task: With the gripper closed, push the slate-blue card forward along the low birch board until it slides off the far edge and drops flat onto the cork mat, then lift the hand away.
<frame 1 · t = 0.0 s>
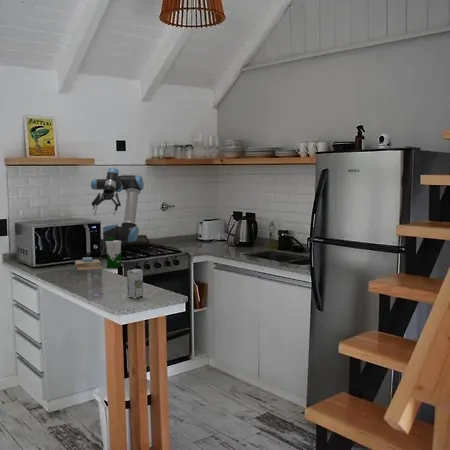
hand: (104, 214, 366), 36 cm above the worktop, tool tilted 35°, fingers open, 13 cm apart
milk carton: (114, 267, 368), on the worktop
mat: (89, 268, 364), on the worktop
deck: (87, 265, 375), on the worktop
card: (87, 261, 375), point 3 cm above the worktop, touching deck
syrup box: (135, 297, 284), on the worktop
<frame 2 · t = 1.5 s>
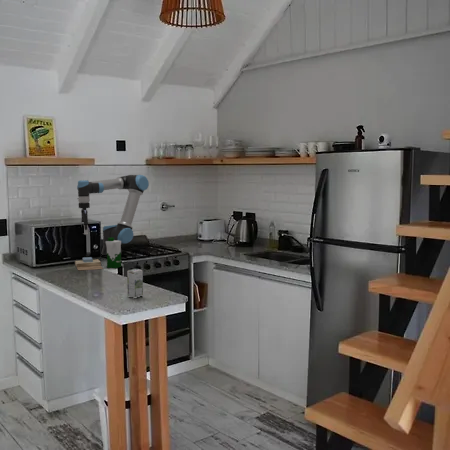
hand: (85, 233, 383), 21 cm above the worktop, tool pointing down, fingers open, 11 cm apart
nothing on the worktop moved.
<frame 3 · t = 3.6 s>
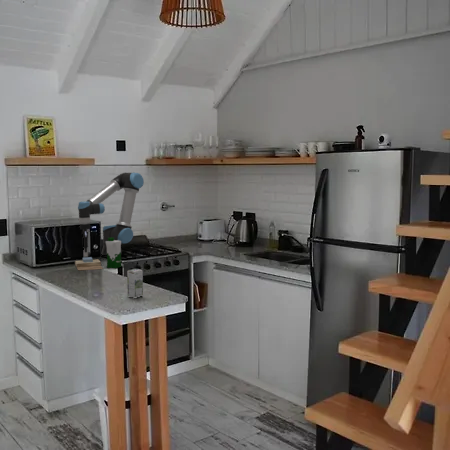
hand: (85, 256, 385), 5 cm above the worktop, tool pointing down, fingers closed
nothing on the worktop moved.
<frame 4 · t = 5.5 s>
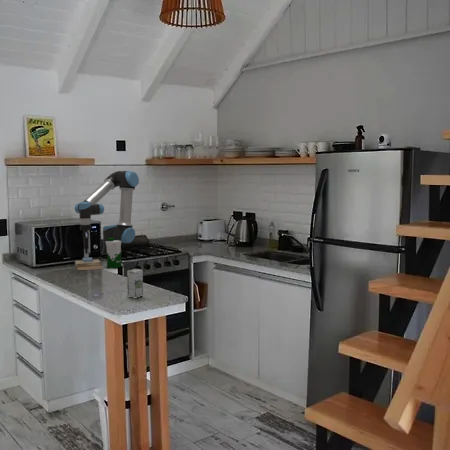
hand: (86, 257, 379), 5 cm above the worktop, tool pointing down, fingers closed
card: (87, 261, 375), point 3 cm above the worktop, touching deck, gripper
everything else where it was.
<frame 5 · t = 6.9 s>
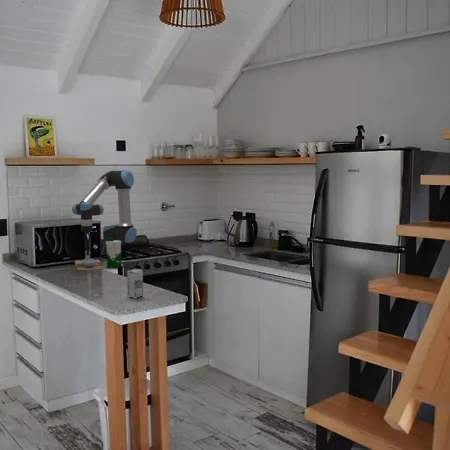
hand: (87, 259, 372), 5 cm above the worktop, tool pointing down, fingers closed
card: (88, 263, 367), point 3 cm above the worktop, tilted 11°, touching gripper
everything else where it was.
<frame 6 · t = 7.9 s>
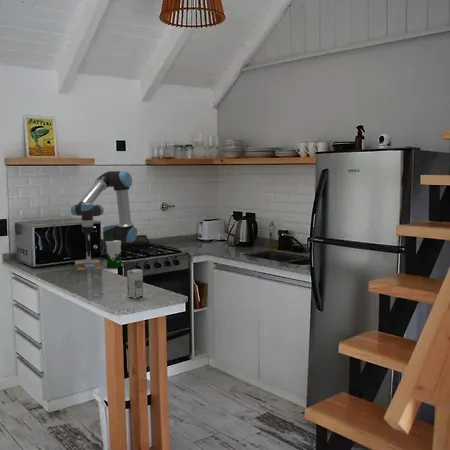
hand: (88, 260, 367), 5 cm above the worktop, tool pointing down, fingers closed
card: (89, 267, 364), resting on mat
everything else where it was.
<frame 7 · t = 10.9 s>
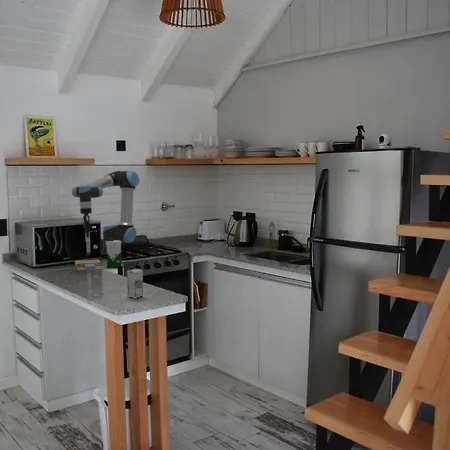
hand: (87, 241, 374), 17 cm above the worktop, tool pointing down, fingers closed
nothing on the worktop moved.
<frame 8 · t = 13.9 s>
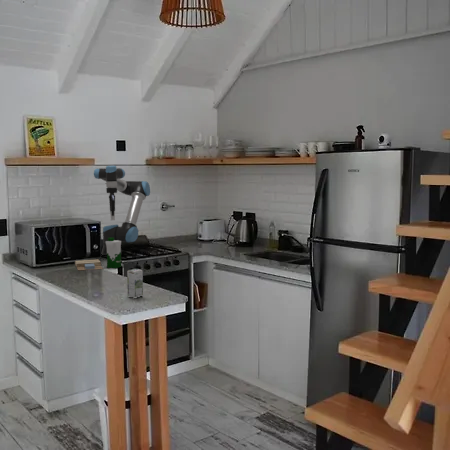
hand: (112, 220, 391), 29 cm above the worktop, tool pointing down, fingers closed
nothing on the worktop moved.
at the end: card resting on mat; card inside the target area (0.0 cm from its centre), resting on mat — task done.
